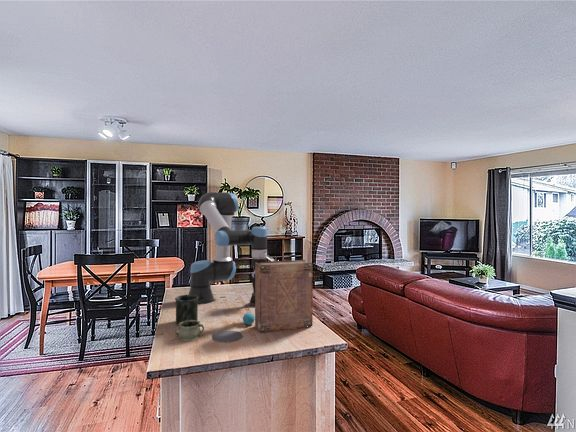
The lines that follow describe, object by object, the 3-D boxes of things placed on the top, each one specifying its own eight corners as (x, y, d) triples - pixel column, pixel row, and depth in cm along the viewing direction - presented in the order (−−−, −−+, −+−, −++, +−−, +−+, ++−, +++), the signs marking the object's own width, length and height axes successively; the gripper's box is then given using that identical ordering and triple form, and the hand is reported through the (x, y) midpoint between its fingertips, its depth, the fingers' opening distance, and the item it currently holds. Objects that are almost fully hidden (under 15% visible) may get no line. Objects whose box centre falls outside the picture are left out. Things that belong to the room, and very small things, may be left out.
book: (304, 320, 167) (305, 259, 167) (312, 326, 159) (313, 262, 158) (254, 326, 158) (255, 262, 158) (260, 333, 150) (260, 265, 149)
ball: (240, 325, 159) (240, 313, 159) (246, 321, 164) (247, 310, 164) (250, 327, 157) (250, 315, 157) (256, 323, 162) (256, 312, 162)
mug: (199, 318, 170) (199, 294, 170) (197, 327, 155) (197, 301, 155) (176, 319, 168) (176, 295, 167) (172, 329, 153) (172, 302, 153)
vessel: (203, 332, 150) (203, 318, 150) (205, 340, 141) (205, 325, 141) (174, 335, 146) (174, 321, 146) (174, 343, 137) (174, 328, 137)
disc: (205, 338, 142) (205, 338, 142) (224, 329, 154) (224, 328, 154) (231, 344, 137) (231, 343, 137) (248, 333, 148) (248, 333, 148)
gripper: (259, 259, 161) (259, 309, 161) (272, 256, 173) (272, 303, 173) (245, 258, 165) (245, 307, 165) (259, 256, 176) (259, 301, 176)
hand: (259, 305), depth 169 cm, fingers closed
